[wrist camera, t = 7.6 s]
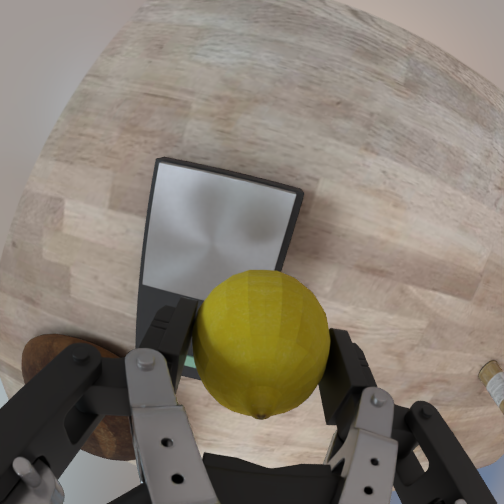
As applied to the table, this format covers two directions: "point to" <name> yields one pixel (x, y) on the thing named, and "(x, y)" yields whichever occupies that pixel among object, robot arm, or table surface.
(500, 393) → the spice jar
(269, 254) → the scale pan
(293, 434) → the table surface
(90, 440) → the bread
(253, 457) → the table surface
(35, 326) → the table surface
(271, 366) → the fruit
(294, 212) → the scale
